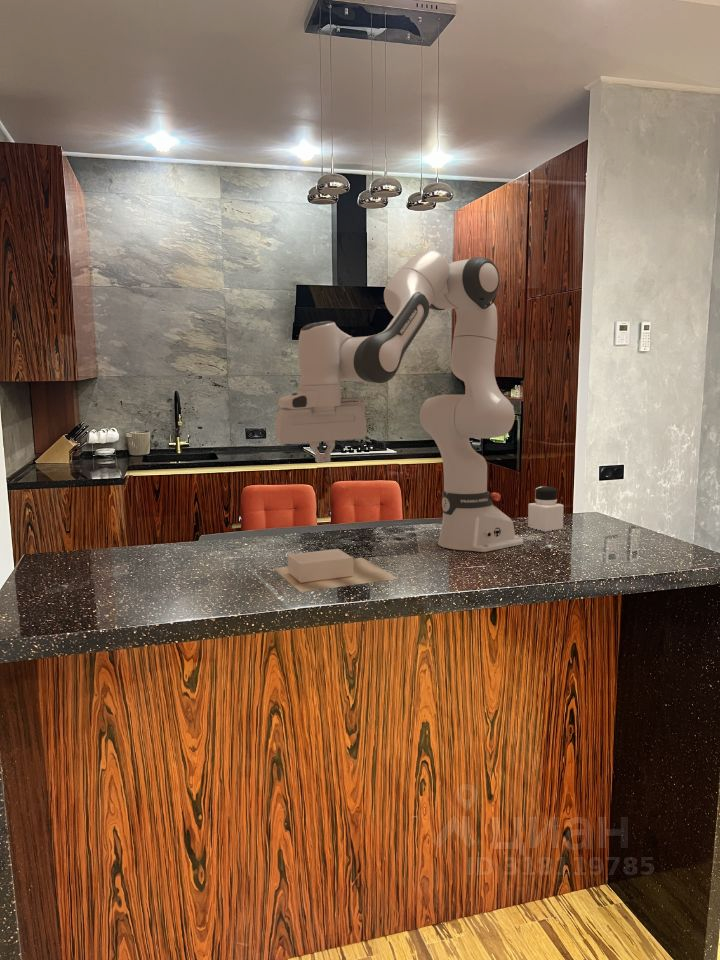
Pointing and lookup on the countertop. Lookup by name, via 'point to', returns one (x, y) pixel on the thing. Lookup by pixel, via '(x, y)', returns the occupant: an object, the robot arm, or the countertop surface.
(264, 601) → the countertop surface
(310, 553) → the block
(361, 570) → the cloth
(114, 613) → the countertop surface
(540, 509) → the medicine bottle
